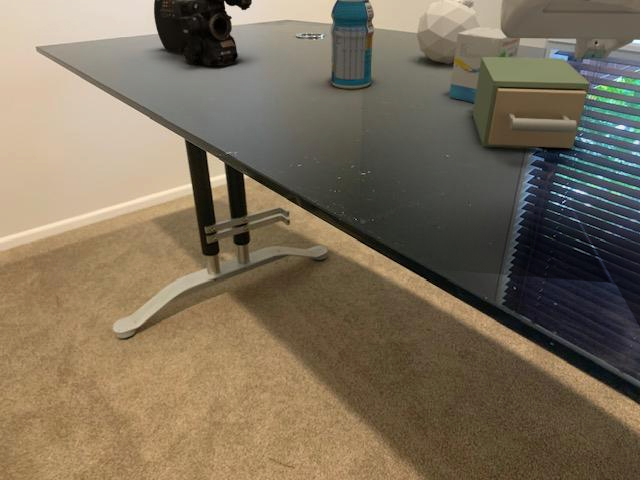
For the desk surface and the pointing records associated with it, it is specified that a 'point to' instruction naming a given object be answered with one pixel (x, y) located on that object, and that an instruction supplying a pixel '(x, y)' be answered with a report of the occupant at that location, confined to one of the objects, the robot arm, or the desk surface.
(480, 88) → the green nightstand
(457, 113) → the desk surface
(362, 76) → the beverage bottle
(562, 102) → the drawer
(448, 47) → the geodesic sphere
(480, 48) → the ink box
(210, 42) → the movie camera
